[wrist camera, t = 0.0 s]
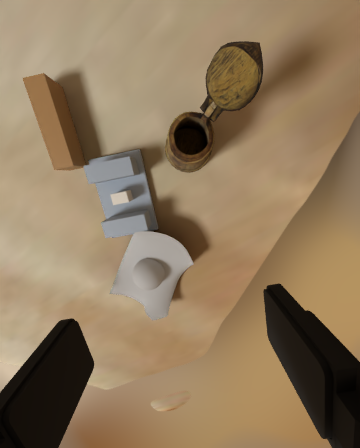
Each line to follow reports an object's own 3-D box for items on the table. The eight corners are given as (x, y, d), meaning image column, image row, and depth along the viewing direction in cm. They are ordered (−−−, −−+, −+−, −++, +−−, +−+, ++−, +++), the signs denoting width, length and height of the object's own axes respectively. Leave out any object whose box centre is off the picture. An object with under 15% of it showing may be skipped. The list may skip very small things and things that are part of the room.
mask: (105, 285, 44) (160, 307, 47) (93, 309, 37) (159, 333, 40) (143, 213, 39) (202, 243, 43) (138, 224, 32) (209, 259, 35)
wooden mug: (237, 125, 35) (293, 77, 18) (190, 181, 38) (199, 187, 20) (202, 90, 34) (226, 0, 16) (156, 150, 36) (134, 129, 19)
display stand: (91, 160, 37) (74, 157, 31) (140, 150, 36) (132, 145, 31) (113, 236, 41) (103, 246, 35) (158, 227, 40) (155, 236, 35)
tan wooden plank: (43, 92, 34) (21, 78, 29) (63, 87, 34) (43, 73, 29) (69, 170, 38) (53, 170, 33) (87, 167, 37) (73, 165, 33)
